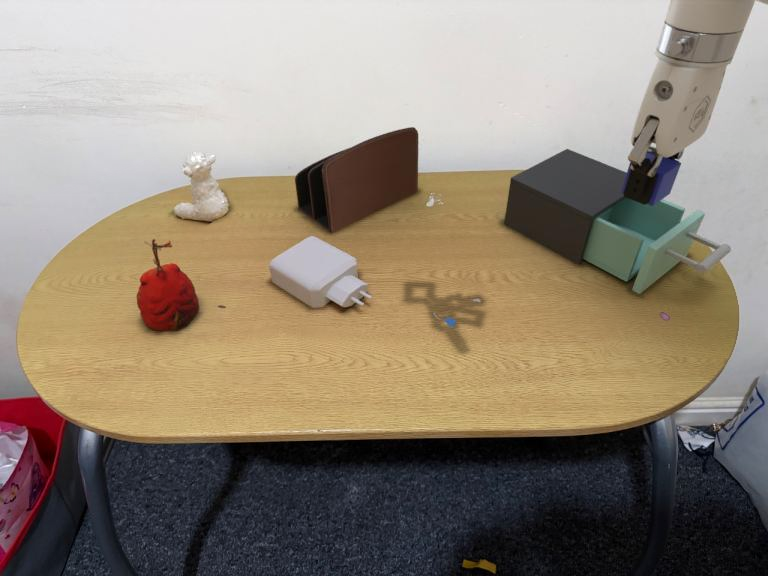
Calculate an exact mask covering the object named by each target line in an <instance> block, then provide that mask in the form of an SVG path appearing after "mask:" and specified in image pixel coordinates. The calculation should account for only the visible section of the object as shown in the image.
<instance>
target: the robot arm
mask: <svg viewBox="0 0 768 576" xmlns="http://www.w3.org/2000/svg"><path fill="white" fill-rule="evenodd" d="M669 1H670V2H669V5H668V9H667V13H666V14H665V19H664V22H663V25H662V28H661V32H660V35H659V37H658V38H659V39H658V42H657V44H656V48H655V52H654V55H655V56H656V57H657V58H658V59H657V62H656V64H655V67H654V68H653V71H652V74H651V75H650V79H649V81H648V84H647V86H646V89H645V92H644V95H643V97H642V99H641V103H640V105H639V109H638V112H637V115H636V118H635V122H634V125H633V129H632V132H631V137H630V143H631V145H632V146H633V147H632V149H630V152H629V154H628V156H627V160H628V161H629V163H630V162H631V166H630V170H631V171H630V174H629V177H628V180H627V183H626V187H625V190H624V193H623V195H624V196H625V197H627V198H629V199H631V200H634V201H636V202H639V203H641V204H643V205H645V204H647V203H648V202H649V201H650V198H651V195H652V192H653V189H654V187H655V184H656V181H657V178H658V175H655V174H656V172H657V169H658V167H659V165H660V163H661V160H662V158H663V157H665V158H669V159H671V160H674V161H677V162H680V159H682V156H683V155H684V152H685V149H686V148H688V147H689V146H691V145H692V144H694V143H695V142H697V141H698V140H700V139H701V138H702V137H703V136H704V134H705V133H706V131H707V130H708V126H709V123H710V121H711V117H712V115H713V112H714V109H715V106H716V103H717V100H718V98H719V94H720V91H721V88H722V85H723V82H724V78H725V75H726V71H727V66H729V65H730V64H732V61H733V59H734V56H735V54H736V52H737V49H738V47H739V43H740V41H741V38H742V36H743V33H744V30H745V28H746V26H747V23H748V20H749V19H750V15H751V12H752V10H753V9H754V5H755V2H756V1H757V2H759V3H762V4H764V5H767V6H768V0H669ZM652 144H655V147H654V146H651V145H652ZM646 152H647V153H650V154H652V155H655V157H654V159H653V161H652V164H651V161H650V159H648V158H646Z"/></svg>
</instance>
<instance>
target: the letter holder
mask: <svg viewBox="0 0 768 576" xmlns="http://www.w3.org/2000/svg"><path fill="white" fill-rule="evenodd" d="M294 184H295V192H296V200H297V207H298V208H297V210H298V211H299V212H300V213H302V214H304V215H305V216H306V217H308V218H309V219H310V220H312V221H313V222H314V223H316V224H317V225H318V226H320V227H321V228H322V229H324V230H325V231H327V232H329V234H333V233H335V232H337V231H338V232H339V230H342V229H343V228H346V227H349V225H353V224H354V223H356V222H358V221H360V220H362V219H365V218H367V217H368V216H370V215H373V214H374V213H377V212H379V211H382V210H383V209H385V208H387V207H389V206H391V205H393V204H395V203H398V202H400V201H402V200H404V199H406V198H408V197H411V196H412V195H415V194H417V193H419V131H418V129H416V127H415V126H410V127H409V126H408V127H404V128H400V129H396V130H392V131H389V132H385V133H383V134H379V135H376V136H374V137H371V138H368V139H366V140H363V141H361V142H359V143H357V144H355V145H353V146H350V147H348V148H345V149H343V150H340V151H337V152H334V153H333V154H330V155H328V156H326V157H323V158H321V159H320V160H319V159H318V160H317V161H315V162H313V163H311V164H310V165H308V166H306V167H304V168H303V169H302V170H299V171H298V173H297V174H296V175H295V176H294Z"/></svg>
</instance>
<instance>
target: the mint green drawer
mask: <svg viewBox="0 0 768 576" xmlns="http://www.w3.org/2000/svg"><path fill="white" fill-rule="evenodd" d="M685 212H686V208H685V207H682V206H680V205H678V204H675V203H672V202H671V201H669V200H666V199H664V198H663V199H662V200H661V201H659V202H658V203H656V204H655V205H654V206H651V205H648V204H645V205H643V204H641V203H639V202H636V201H634V200H631V199H629V198H625V199H624V200H622V201H621V202H619V203H618V204H616V205H614V206H613V207H611V208H610V209H608V210H607V211H605V212H604V213H602V214H600V215H599V216H597V217H596V218H594V220H593V224H592V227H591V231H590V234H589V238H588V242H587V245H586V249H585V252H584V256H583V259H582V260H585V261H586V262H588V263H590V264H592V265H593V266H595V267H597V268H599V269H601V270H603V271H605V272H607V273H609V274H611V275H612V276H614V277H616V278H618V279H620V280H622V281H624V282H626V283H627V282H629V281H630V280H632V279H633V278H634V277H635V276H636V278H635V281H634V283H633V286H632V287H631V291H632V292H634V293H636V294H638V295H641V294H642V293H643V292H645V291H646V290H647V289H648V288H650V287H651V286H652V285H653V284H654V283H656V281H658V280H659V279H661V278H662V277H663V276H664V275H665V274H666V273H668V272H669V271H670V270H672V269H673V268H674V267H675V266H676V265H677V264H679V263H680V262H681V263H684V264H686V265H688V266H690V267H692V268H694V269H695V271H696V273H697V274H699V275H705V274H707V273H708V272H709V271H710V270H711V269H712V268H713V267H714V266H716V265H717V264H718V263H719V262H720V261H721V260H723V259H724V258H725V257H726V256H728V254H729V253H730V252H731V251H732V247H731V246H730V245H729V244H727V243H722V244H719V243H717V242H714V241H712V240H710V239H708V238H706V237H703V236H700V235H699V234H697V233H698V231H699V229H700V226H701V224H702V222H703V220H704V217H705V215H706V212H704V211H702V210H699V209H696V210H695V211H694V212H692V213H691V214H689V215H688V216H687V217H686V218H684V219H683V220H682V218H683V216H684V214H685ZM694 241H696V242H698V243H700V244H702V245H705V246H707V247H710V248H712V249H713V251H712V252H711V253H710V254H709V255H707V256H706V257H705V258H704V259H702V260H701V261H700V262H699V261H696V260H695V259H694V260H693V259H692V258H689V257H687V256H688V254H689V252H690V249H691V248H692V245H693V243H694Z"/></svg>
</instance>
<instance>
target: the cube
mask: <svg viewBox="0 0 768 576" xmlns="http://www.w3.org/2000/svg"><path fill="white" fill-rule="evenodd" d="M654 157H655V155H652V154H650V153H647V152H646V158H648V159H650V161H651V164H652V161H653V159H654ZM677 161H678V160H677ZM677 161H674V160H671V159H669V158H665V157H663V158H662V160H661V163H660V165H659V167H658V169H657V172H656V174H655V175H658V178H657V181H656V184H655V187H654V189H653V192H652V195H651V198H650V201H649V202H648V203H647V204H648V205H651V206H654V205H655V204H656V203H658V202H659V201H661V200H662V199H663V200H664V199H666V197H668V196H669V195H670V194H671V192H672V190H673V187H674V184H675V181H676V178H677V176H678V173H679V171H680V168H681V166H682V162H680V161H679V162H677ZM630 166H631V162H630V161H629V166H628V169H627V171H626V173H627V174H626V178H625V181H624V184H623V187H622V191H621V193H622V194H623V193H624V190H625V187H626V183H627V180H628V177H629V174H630V171H631V170H630Z"/></svg>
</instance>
